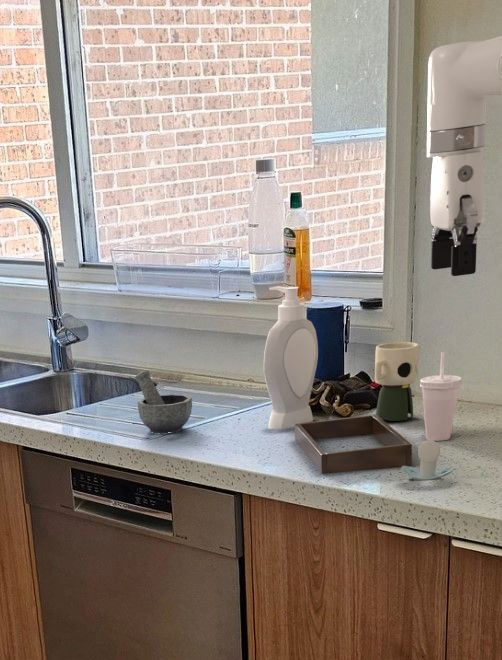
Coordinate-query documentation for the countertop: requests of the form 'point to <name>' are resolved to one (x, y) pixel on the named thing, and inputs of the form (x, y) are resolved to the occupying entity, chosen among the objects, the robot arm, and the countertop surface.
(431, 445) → the pacifier
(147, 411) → the mortar and pestle
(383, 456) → the crate
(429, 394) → the smoothie
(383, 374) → the character mug
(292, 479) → the countertop surface
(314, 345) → the soap bottle
